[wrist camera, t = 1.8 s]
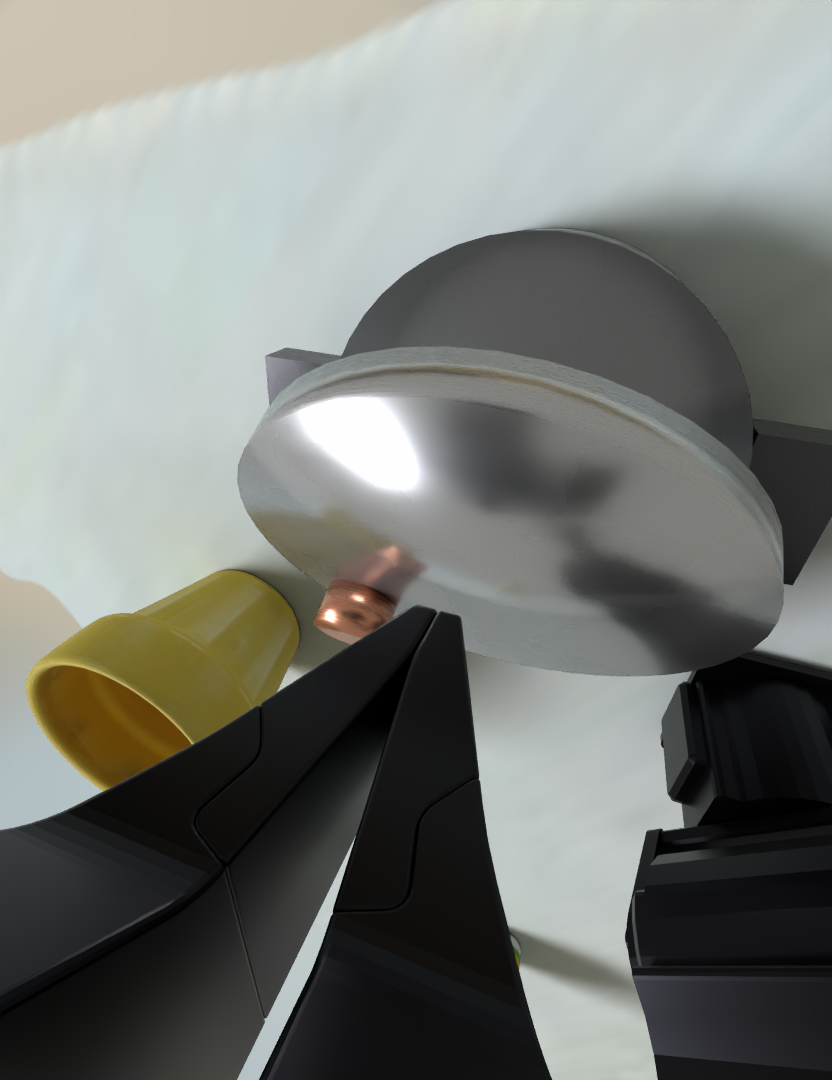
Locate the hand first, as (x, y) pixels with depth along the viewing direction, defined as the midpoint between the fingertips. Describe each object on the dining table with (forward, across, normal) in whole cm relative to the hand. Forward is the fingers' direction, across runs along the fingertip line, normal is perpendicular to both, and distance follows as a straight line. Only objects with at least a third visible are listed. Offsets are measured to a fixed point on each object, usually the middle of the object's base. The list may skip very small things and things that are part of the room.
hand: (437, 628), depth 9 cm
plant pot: (+13, +14, +15) cm, 24 cm away
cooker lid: (+5, 0, +1) cm, 6 cm away
